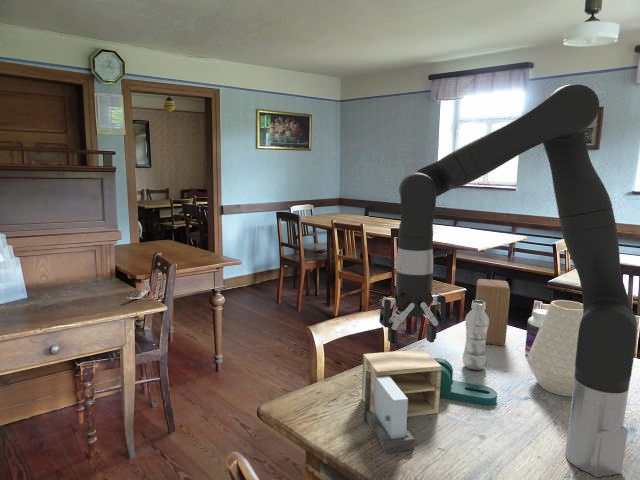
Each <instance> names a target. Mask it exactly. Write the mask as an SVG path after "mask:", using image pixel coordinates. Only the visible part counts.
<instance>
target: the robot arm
mask: <svg viewBox="0 0 640 480" xmlns="http://www.w3.org/2000/svg"><path fill="white" fill-rule="evenodd" d="M599 111H600V99H599V97H598V95H597V94H596V92H595V90H593V89H592V88H591V87H588V85H583V84H580V83H579V84H578V83H571V84H566V85H563V86H561V87H558V88H557V89H556V90H554V91H553V92H551V93H550V94H549V95H548V96H547V97H546V98H544V99H543V101H542V102H540V103H539V104H538V105H536V106H535V107H534V108H532V109H531V110H529V111H528V112H526V113H524V114H523V115H521V116H519V117H517V118H516V119H515V120H512V121H511V122H509V123H507V124H506V125H504V126H501V127H500V128H497V129H496V130H493V131H491V132H489V133H487V134H485V135H483V136H481V137H479V138H477V139H475V140H473V141H471V142H468V143H467V144H465V145H463V146H462V147H460V148H457V149H456V150H454V151H452V152H450V153H448V154H447V155H445V156H443V157H442V158H441V159H439V160H437V161H435V162H432V163H431V164H428V165H426V166H423V167H421V168H419V169H416V170H415V171H413V172H411V173H409V174H407V175H406V176H405V177H403V179H402V180H401V182H400V184H399V188H398V192H399V195H400V198H399V199H400V223H399V226H398V235H397V236H398V242H397V253H396V254H397V255H396V264H395V268H396V270H395V296H394V297H386V296H382V297H381V299H380V310H379V324H380V325H381V326H383V327H384V328H387V341H388V342H389V343H390V345H391V346H393V347H396V346H398V327H399V325H400V324H402V322H404V321H405V319H406V318H409V319H411V318H414V317H419V318H420V317H423V316H424V318H425V319H426V320H427V322H428V323H426V337H425V339H426V341H427V342H429V343H434V342H435V340H436V339H437V326H438V325H439V324H441V323H446V320H447V314H446V313H447V306H446V305H447V304H446V302H447V300H446V299H447V297H446V296H445V295H443V294H442V293H440V292H436V293H435V294H433V293H432V291H433V278H434V277H433V276H434V252H433V244H434V243H433V242H434V228H433V226H434V218H435V212H436V204H437V197H440V196H441V195H444V194H445V193H447V192H449V191H451V190H453V189H458V188H460V187H464V186H466V185H468V184H470V183H472V182H474V181H476V180H478V179H480V178H481V177H483V176H485V175H488V173H490V172H492V171H494V170H496V169H497V168H499V167H502V165H504V164H506V163H508V162H509V161H511V160H513V159H514V158H516V157H519V156H520V155H522V154H523V153H525V152H527V151H529V150H530V149H533V148H535V147H538V146H539V145H542V144H543V147H544V150H545V153H546V156H547V159H548V162H549V167H550V171H551V178H552V185H553V190H554V191H553V192H554V197H555V202H556V207H557V213H558V215H557V216H558V220H559V224H560V229H561V234H562V237H563V241H564V244H565V247H566V249H567V252H568V254H569V256H570V257H569V258H570V259H571V261H572V263H573V265H574V268H575V270H576V271H577V272H576V273H577V275H578V279H579V284H580V289H581V299H582V304H583V317H582V319H581V322H580V326H579V333H578V341H577V351H576V360H575V377H574V385H573V393H572V397H571V402H570V409H569V412H570V413H569V419H568V426H567V427H568V428H567V435H566V436H567V438H566V445H565V452H564V454H565V458H566V460H567V461H568V462H569V463H570V464H572V465H573V466H574V467H576V468H577V469H580V470H581V471H584V472H586V473H588V474H591V475H592V476H593V477H594V478H600V477H607V476H613V475H618V474H622V472H623V465H624V459H625V452H626V451H625V450H626V444H627V439H628V432H629V431H628V428H627V427H625V426H624V424H625V417H626V416H625V415H626V412H627V411H626V410H627V404H628V395H629V389H630V382H631V378H632V373H633V372H632V371H633V364H634V357H635V351H636V347H637V346H636V344H637V336H638V322H637V319H636V316H635V313H634V310H633V307H632V305H631V302H630V299H629V297H628V293H627V289H626V287H625V283H624V279H623V276H622V275H623V274H622V270H621V260H620V259H621V258H620V247H619V245H620V244H619V236H618V229H617V223H616V219H615V213H614V208H613V204H612V203H613V202H612V201H611V197H610V195H609V193H608V190H607V188H606V187H605V185H604V183H603V181H602V179H601V178H600V176H599V174H598V173H597V171H596V169H595V167H594V165H593V163H592V161H591V158H590V154H589V150H588V144H587V143H588V142H587V138H586V137H587V136H586V129H588V128H589V127H590V126H591V125H592V123H593V122H594V121H595V120H596V118H597V116H598V114H599ZM432 303H433V304H434V310H435V311H434V313H435V314H434V313H433V312H432V311H431V309H430V307H431V305H432ZM393 305H395V306H396V307H395V308H394V310H393V312H392V314H391V309H393ZM390 316H391V317H390Z"/></svg>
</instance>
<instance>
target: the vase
mask: <svg viewBox="0 0 640 480" xmlns="http://www.w3.org/2000/svg"><path fill="white" fill-rule="evenodd" d="M547 310H548V311H547V313H546V315H545V317H544V320H543V322H542V324H541V326H540V329H539V331H538V333H537V336H536V338H535V340H534V342H533V345H532V347H531V349H530V351H529V354H528V355H527V357H526V358H527V362H528V365H529V366H530V367H529V368H530V369H531V371H532V373H533V375H534V378H535V379H536V382H537V384H538V385H539V387H541V388H542V389H543V390H545V391H546V392H548V393H551V394H554V395H558V396H562V397H569V398H570V397H571V398H572V393H573V385H574V377H575V360H576V351H577V341H578V333H579V326H580V322H581V319H582V317H583V302H582V303H581V302H579V301H574V300H565V299H557V300H552V301H551V302H550V304H549V307H548V309H547Z"/></svg>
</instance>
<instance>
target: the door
mask: <svg viewBox="0 0 640 480" xmlns="http://www.w3.org/2000/svg"><path fill="white" fill-rule="evenodd" d="M407 407H408V398H407V397H406V396H405V395H404V393H403V392H402V391H401V390H400V389H399V387H398V386H397V385H396V384H395V383H394V381H393V380H392V379H391V378H390V376H384V377H376V386H375V409H374V416H375V418H376V419H377V421H378V422H379V424H380V426H381V427H382V429H383V430H384V432H385V433H386V435H387V437H388V438H389V440H390V439H398V438H406V428H407V426H408V425H407V422H408V421H407V420H408V417H407Z"/></svg>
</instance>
